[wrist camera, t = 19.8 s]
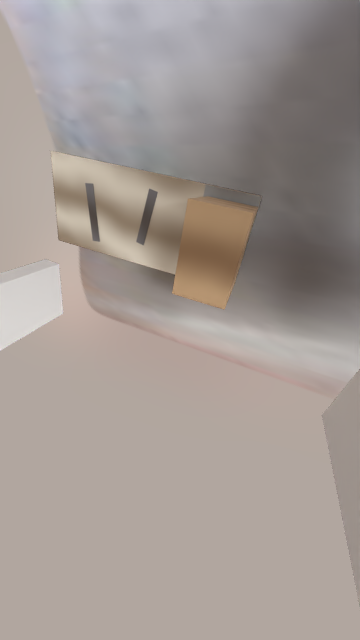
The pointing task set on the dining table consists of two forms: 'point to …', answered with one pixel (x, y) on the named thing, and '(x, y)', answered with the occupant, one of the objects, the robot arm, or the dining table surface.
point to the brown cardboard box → (212, 249)
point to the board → (127, 209)
